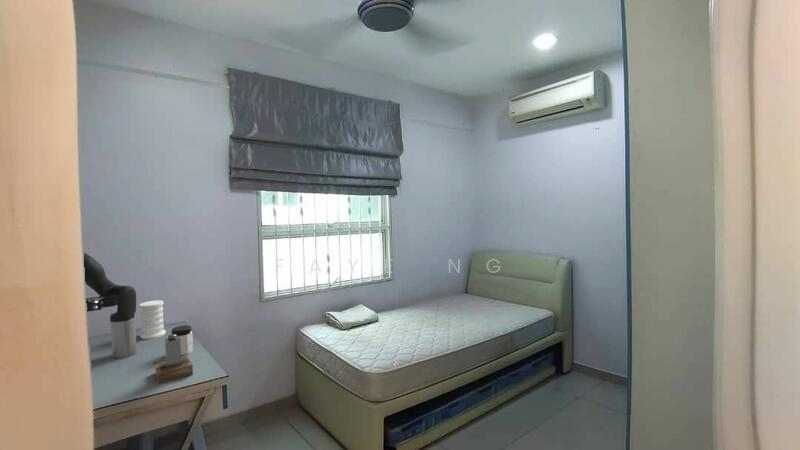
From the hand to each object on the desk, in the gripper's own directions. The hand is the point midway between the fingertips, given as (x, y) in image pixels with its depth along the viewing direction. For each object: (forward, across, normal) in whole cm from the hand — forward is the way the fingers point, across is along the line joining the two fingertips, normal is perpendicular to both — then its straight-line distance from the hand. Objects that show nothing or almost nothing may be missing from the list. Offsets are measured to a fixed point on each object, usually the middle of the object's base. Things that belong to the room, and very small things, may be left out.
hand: (115, 300), depth 148 cm
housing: (+18, -12, +28) cm, 35 cm away
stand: (+18, -12, +32) cm, 39 cm away
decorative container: (+15, +48, +32) cm, 60 cm away
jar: (+24, +11, +32) cm, 42 cm away
